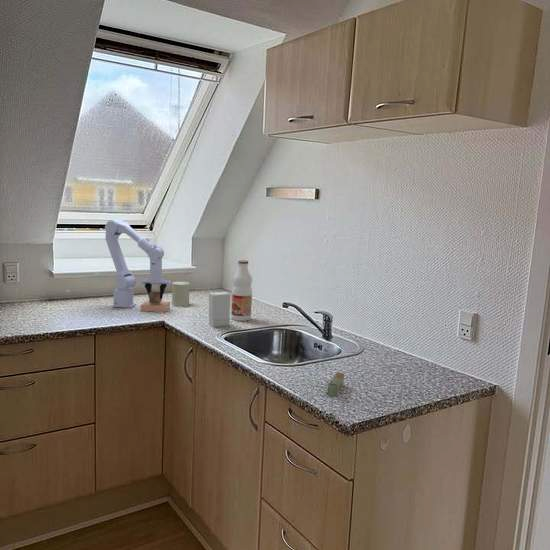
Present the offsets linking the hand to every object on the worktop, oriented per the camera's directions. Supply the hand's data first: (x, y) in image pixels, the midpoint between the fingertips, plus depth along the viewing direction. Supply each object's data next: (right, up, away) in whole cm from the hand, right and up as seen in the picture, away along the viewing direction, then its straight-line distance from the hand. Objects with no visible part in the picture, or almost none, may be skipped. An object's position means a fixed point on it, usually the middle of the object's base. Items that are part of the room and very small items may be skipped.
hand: (155, 298), depth 261 cm
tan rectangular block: (0, -5, +1) cm, 5 cm away
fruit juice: (+44, -9, -12) cm, 46 cm away
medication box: (+79, -24, -100) cm, 129 cm away
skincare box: (+34, -11, -26) cm, 45 cm away
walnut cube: (0, -2, 0) cm, 2 cm away
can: (+10, -4, +15) cm, 18 cm away
